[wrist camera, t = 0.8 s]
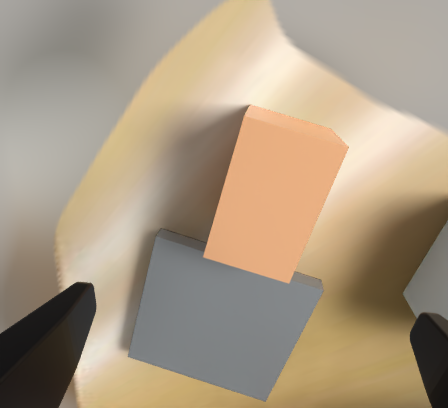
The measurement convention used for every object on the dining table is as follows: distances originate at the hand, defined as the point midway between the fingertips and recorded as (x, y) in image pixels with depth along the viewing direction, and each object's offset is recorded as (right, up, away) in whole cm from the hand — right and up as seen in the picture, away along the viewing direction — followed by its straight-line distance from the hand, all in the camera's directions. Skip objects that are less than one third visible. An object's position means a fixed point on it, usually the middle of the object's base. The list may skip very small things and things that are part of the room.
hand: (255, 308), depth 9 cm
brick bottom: (+2, +5, +12) cm, 13 cm away
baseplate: (-1, -6, +17) cm, 18 cm away
